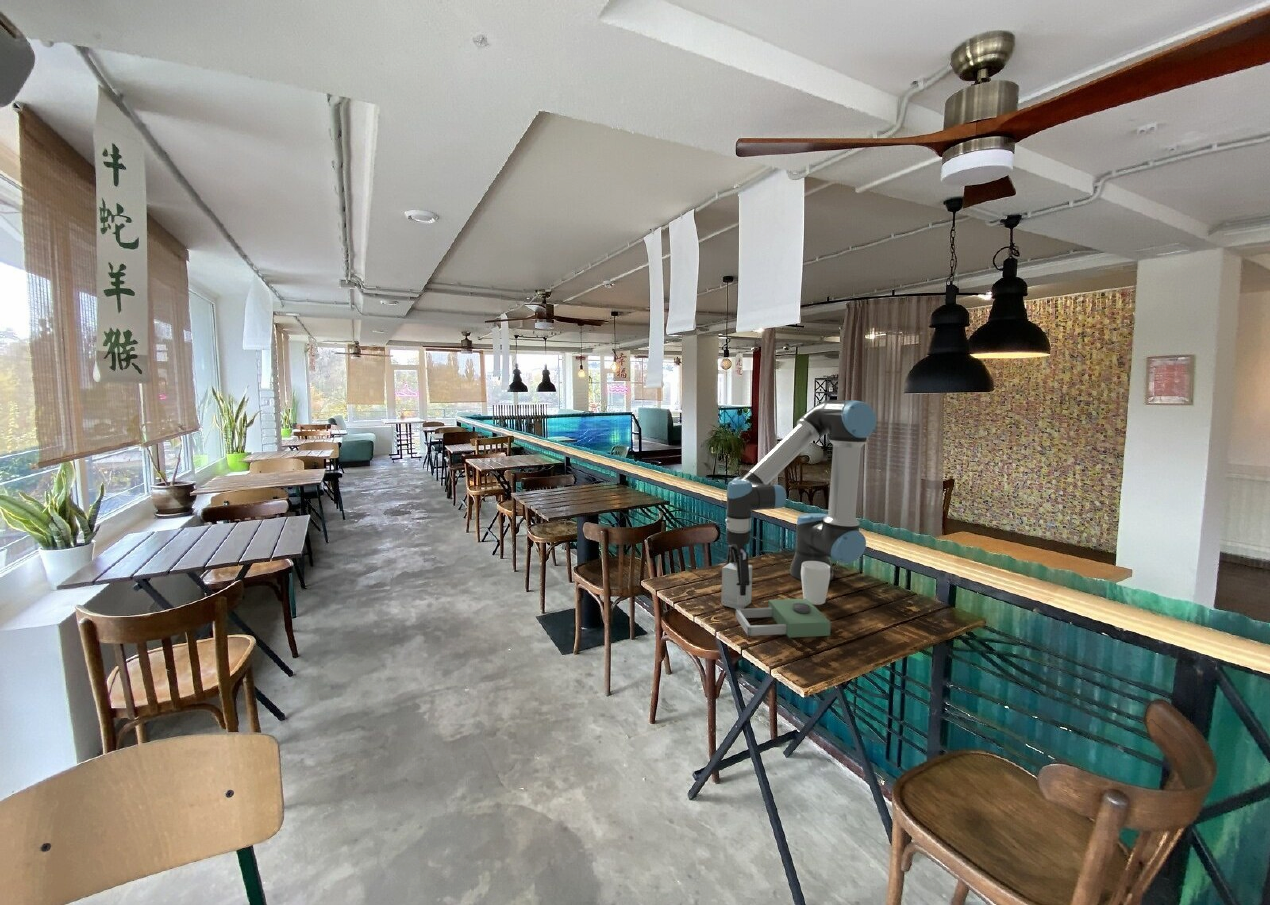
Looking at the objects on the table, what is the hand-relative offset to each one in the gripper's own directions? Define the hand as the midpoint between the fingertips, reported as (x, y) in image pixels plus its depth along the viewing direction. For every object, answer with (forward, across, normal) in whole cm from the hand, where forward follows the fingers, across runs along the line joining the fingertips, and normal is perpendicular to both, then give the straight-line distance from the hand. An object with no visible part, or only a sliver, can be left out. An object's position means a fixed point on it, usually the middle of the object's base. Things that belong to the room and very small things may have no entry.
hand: (736, 597), depth 163 cm
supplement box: (+2, 0, 0) cm, 2 cm away
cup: (+2, 0, +26) cm, 26 cm away
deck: (+2, +15, +9) cm, 17 cm away
